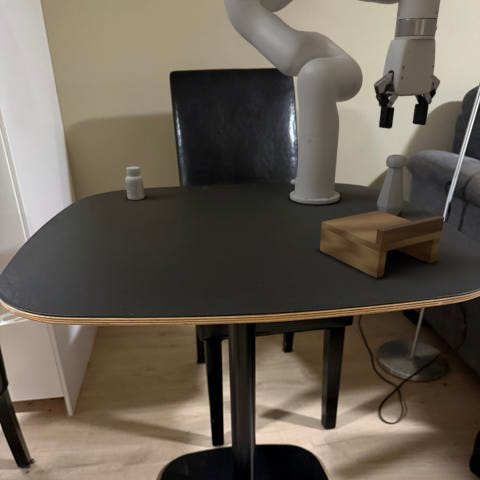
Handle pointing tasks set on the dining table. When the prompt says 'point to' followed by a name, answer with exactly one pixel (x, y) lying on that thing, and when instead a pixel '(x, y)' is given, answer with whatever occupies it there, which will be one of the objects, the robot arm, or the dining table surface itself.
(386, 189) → the salt shaker
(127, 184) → the pill bottle
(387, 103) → the robot arm
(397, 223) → the shelf
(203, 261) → the dining table surface
